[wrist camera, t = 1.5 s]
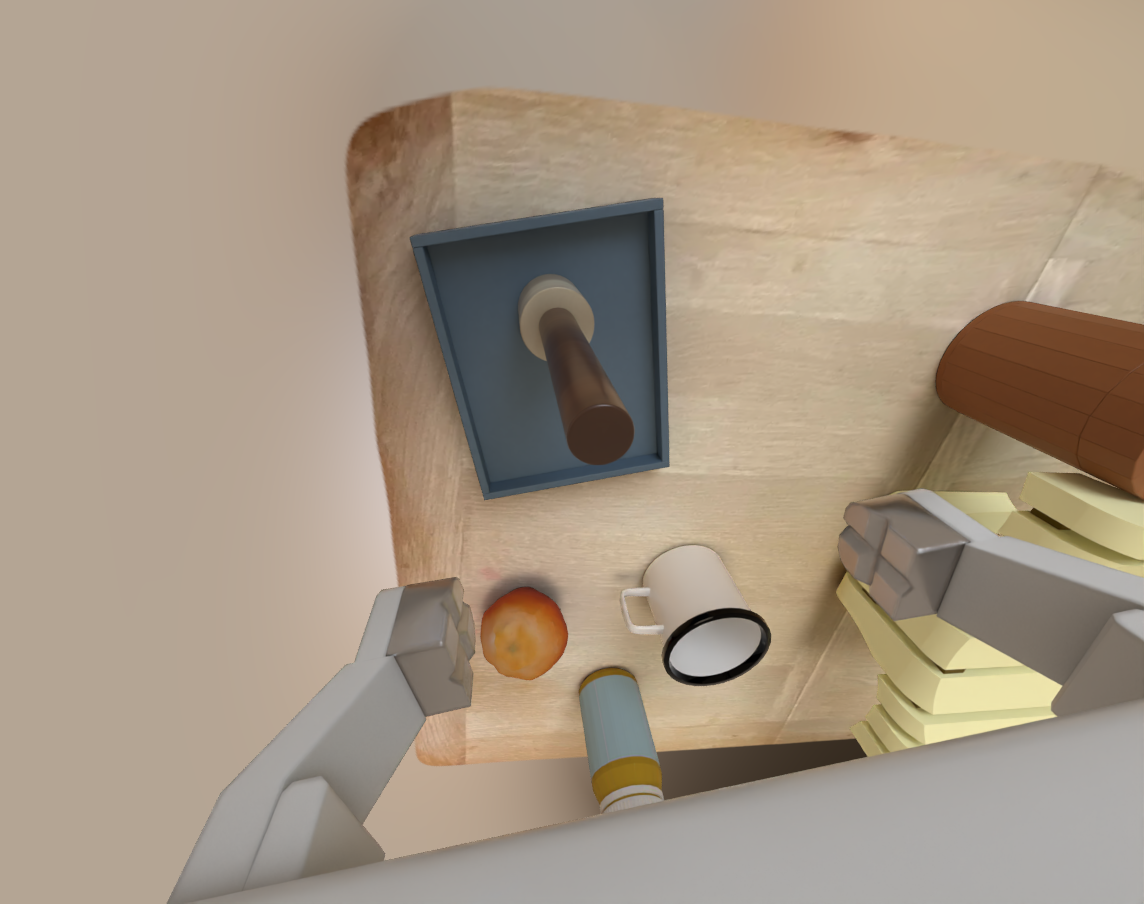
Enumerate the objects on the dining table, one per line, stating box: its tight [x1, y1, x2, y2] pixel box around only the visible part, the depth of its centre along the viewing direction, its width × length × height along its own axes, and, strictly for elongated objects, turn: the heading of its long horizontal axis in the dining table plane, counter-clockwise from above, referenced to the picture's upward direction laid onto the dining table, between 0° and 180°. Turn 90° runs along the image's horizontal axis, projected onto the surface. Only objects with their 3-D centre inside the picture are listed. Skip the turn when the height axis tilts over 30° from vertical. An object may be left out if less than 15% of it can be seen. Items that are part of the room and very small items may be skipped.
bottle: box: [579, 668, 664, 814], centre depth 47 cm, size 7×7×15 cm
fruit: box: [481, 587, 568, 680], centre depth 42 cm, size 8×8×8 cm
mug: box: [620, 545, 771, 686], centre depth 42 cm, size 12×10×9 cm
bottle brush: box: [518, 274, 635, 465], centre depth 22 cm, size 4×4×19 cm
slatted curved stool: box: [836, 472, 1144, 757], centre depth 40 cm, size 30×16×18 cm, turn 174°
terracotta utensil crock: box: [936, 301, 1144, 500], centre depth 32 cm, size 9×9×14 cm
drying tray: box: [410, 198, 669, 500], centre depth 32 cm, size 19×15×2 cm
